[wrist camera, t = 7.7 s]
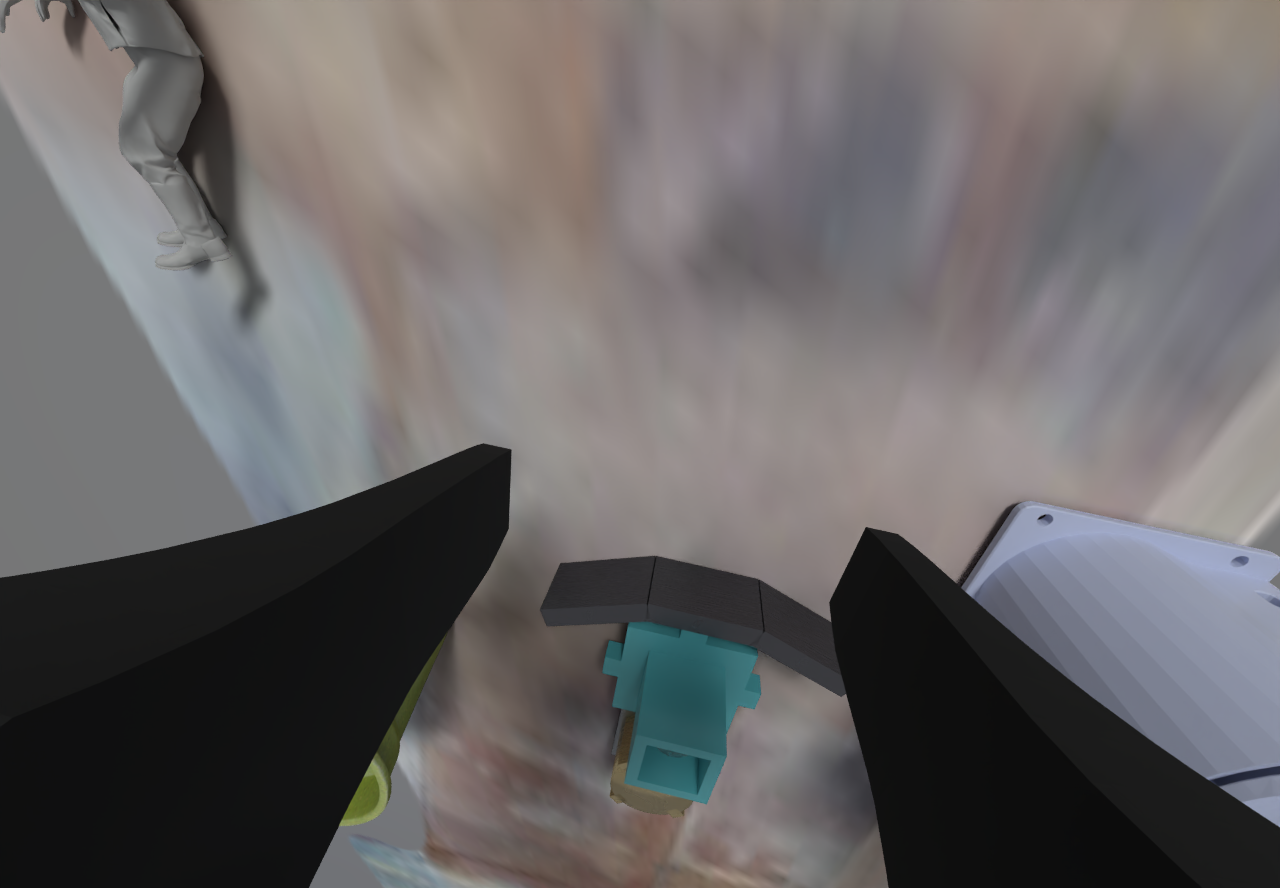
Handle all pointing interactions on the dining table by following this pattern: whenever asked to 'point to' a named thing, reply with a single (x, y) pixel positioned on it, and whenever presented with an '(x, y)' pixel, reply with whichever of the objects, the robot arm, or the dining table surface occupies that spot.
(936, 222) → the dining table surface
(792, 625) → the carrier
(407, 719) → the plant pot
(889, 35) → the dining table surface
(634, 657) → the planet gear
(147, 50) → the soldier figure
